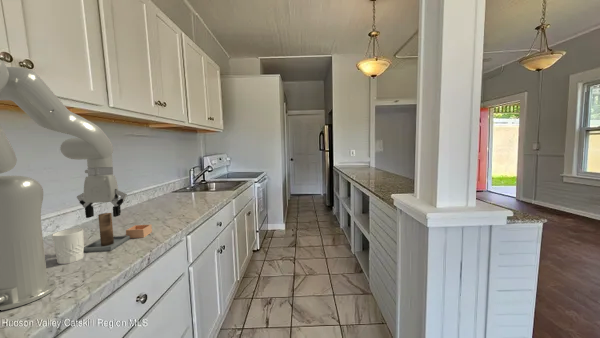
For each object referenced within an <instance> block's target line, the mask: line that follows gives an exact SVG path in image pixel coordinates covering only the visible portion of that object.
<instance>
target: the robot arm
mask: <svg viewBox="0 0 600 338" xmlns="http://www.w3.org/2000/svg"><path fill="white" fill-rule="evenodd" d="M0 101H12V102H13V103H15V104H16V105H17V106H18V108H20V109H21V110H22V111H23V112H24V114H26V115H27V116H28V117H29V118H30V119H32V121H34V123H35V124H36V125H38V126H40V127H41V128H43V129H46V130H50V131H53V132H58V133H61V134H67V135H70V136H74V137H73V138H68V139H65V140H63V141H62V142H61V144H60V147H59V148H60V149H59V150H60V152H61V154H62V155H63V156H64V157H66V158H68V159H71V160H86V162H87V164H86V165H87V169H85V170H84V173H85V174H87V176H85V177H84V178H85V179H84V183H83V192H82V193H80V194H78V195H77V196H76V199H77V200H78V201H79V204H80V205H82V208H84V214H85V218H86V219H90V218H92V217H94V215H95V211H94V209H95V208H94V206H93V204H95V203H97V204H99V203H101V204H102V203H109V202H110V203H111V204H112V205H113V206H112V217H114V218H116V217H119V216H121V212H122V211H121V210H122V208H121V206H122V204H123V203H124V202H125V201H126V198H127V197H128V194H127V193H126V192H123V191H121V190H119V187H118V185H119V184H118V181H117V177H116V175H114V168H113V167H114V165H113V164H114V163H113V152H114V146H113V143H112V142H111V139H110V138H109V137H108V136H107V134H106V133H105V132H104V130H103V129H101V127H100V126H98V125H97V124H95V123H94V122H92V121H90V120H88V119H86V118H85V117H83V116H81V115H79V114H77V113H74V112H72V111H70V109H68V108H67V107H66V105H65V104H64V103H63V102H62V101H61V100H60V98H59V97H58V96H57V95H56V94H55V93H54V91H53V90H51V88H50V87H49V86H48V85H47V83H45V81H44V80H43V79H42V78H41V77H40V76H39V75H38V74H37V73H36V72H35V71H33V70H30V69H28V68H25V67H19V66H18V67H17V66H7V65H6V64H5V63H4V61H2V59H0ZM17 161H18V160H17V156H16V152H15V151H14V148H13V147H12V144H11V143H10V141H9V139H8V137H7V135H6V132H5V131H4V129H3V127H2V125H1V124H0V174H3V173H7V172H10V171H11V170H13V169H14V168H15V166H16V165H17ZM119 197H120V198H119ZM43 200H44V189H43V186H42V185H41V183H40V182H39V181H37V180H36V179H34V178H32V177H30V176H29V177H28V176H23V175H0V310H1V311H6V310H10V309H14V308H18V307H21V306H24V305H28V304H30V303H33V302H35V301H37V300H39V299H41V298H44V297H46V296H48V295H49V294H50V293H52V292H54V290H55V289H56V287H57V282H56V280H54V279H50V278H49V279H48V272H47V264H46V256H45V255H46V254H45V247H44V246H45V244H44V236H43V230H42V229H43V228H42V217H41V216H42V207H43V205H42V204H43Z"/></svg>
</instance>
